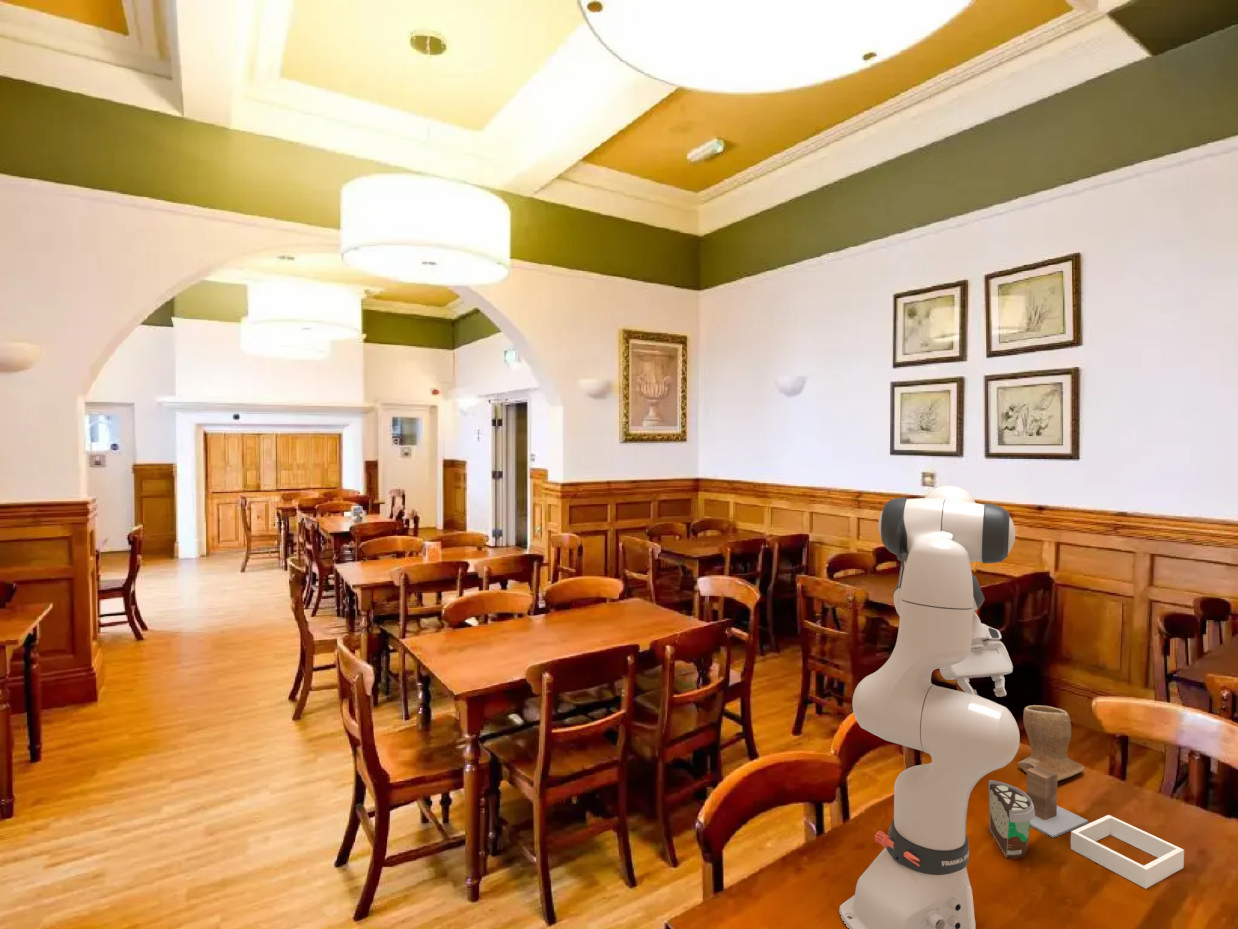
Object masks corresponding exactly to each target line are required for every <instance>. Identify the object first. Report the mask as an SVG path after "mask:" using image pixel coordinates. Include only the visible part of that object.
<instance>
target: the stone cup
mask: <svg viewBox="0 0 1238 929" xmlns="http://www.w3.org/2000/svg"><path fill="white" fill-rule="evenodd" d="M1022 717H1023V720H1022V721H1023V726H1024V729H1025V733H1026V735H1027V738H1028V742H1029V745H1030V750H1031V751H1030V752H1031V753H1030V755H1029V756H1027V757H1026V758H1024V759H1022V760H1019V761H1018V762H1017V765H1018V766H1019V768H1021V769H1022V771H1024V772H1025V774H1027V770H1028V769H1031V768H1034V767H1036V766H1040V767H1042V768H1045V769H1047V770H1049V771H1052V772H1054V773H1056V774H1058V775H1057V782H1059V781H1061V780H1065V779H1067V778H1070V777H1072V776H1075V775H1077V774H1079V773H1082V772H1083V771H1084V769H1085V766H1083V764H1081V763H1079V762H1077V761H1075V760H1073V759H1071V758H1069V757H1068V749H1069V744H1070V741H1071V738H1072V722H1071V718H1070V715H1069V713H1068V712H1067V711H1066V710H1064V709H1062V708H1057V707H1053V706H1049V705H1039V704H1038V705H1036V704H1033V705H1027V706H1025V707H1024V709H1023V716H1022ZM1075 764H1076V765H1075Z"/></svg>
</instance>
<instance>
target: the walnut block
mask: <svg viewBox="0 0 1238 929" xmlns="http://www.w3.org/2000/svg"><path fill="white" fill-rule="evenodd" d="M1057 775H1058V774H1056V773H1054V772H1052V771H1049V770H1047V769H1045V768H1042V767H1040V766H1036V767H1034V768H1031V769H1028V770H1027V773H1026V784H1025V785H1026V792H1025V793H1026V794H1027V795H1028V796H1029V797H1030V798H1031V801H1032V803H1033V805H1034V810H1035V816H1037V817H1039V818H1041V819H1043V820H1048V819H1050V818H1052V817H1055V816H1057V806H1058V781H1057Z"/></svg>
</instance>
